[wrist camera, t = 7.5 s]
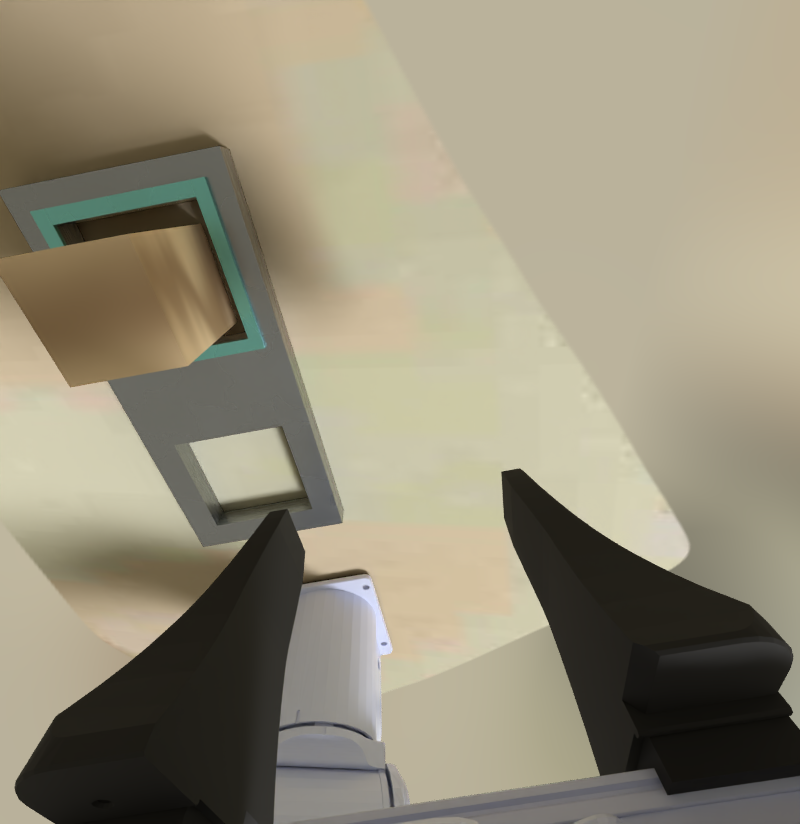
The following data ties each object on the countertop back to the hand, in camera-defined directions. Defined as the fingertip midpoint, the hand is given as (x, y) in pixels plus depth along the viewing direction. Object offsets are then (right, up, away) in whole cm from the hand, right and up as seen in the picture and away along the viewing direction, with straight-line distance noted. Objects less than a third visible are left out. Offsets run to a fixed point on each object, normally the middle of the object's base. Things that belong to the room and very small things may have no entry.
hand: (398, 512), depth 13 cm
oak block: (-11, +9, +6) cm, 15 cm away
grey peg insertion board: (-10, +5, +8) cm, 14 cm away
